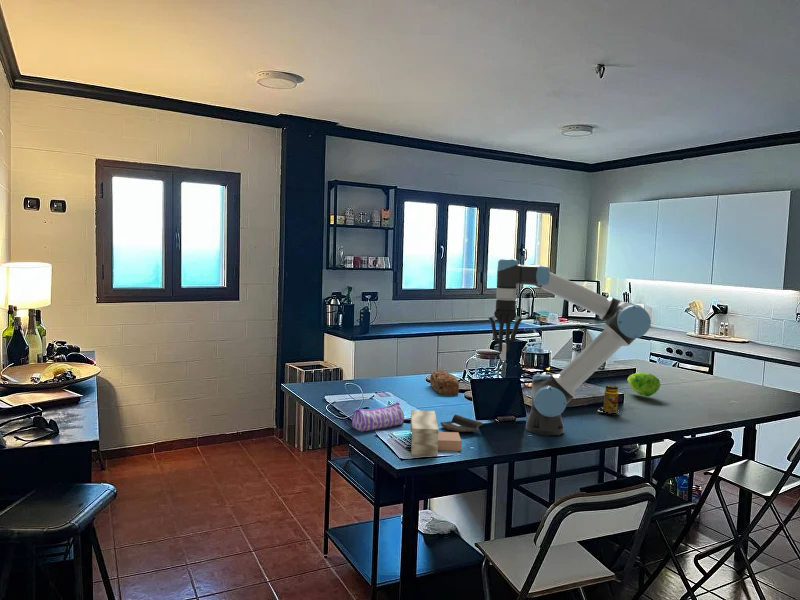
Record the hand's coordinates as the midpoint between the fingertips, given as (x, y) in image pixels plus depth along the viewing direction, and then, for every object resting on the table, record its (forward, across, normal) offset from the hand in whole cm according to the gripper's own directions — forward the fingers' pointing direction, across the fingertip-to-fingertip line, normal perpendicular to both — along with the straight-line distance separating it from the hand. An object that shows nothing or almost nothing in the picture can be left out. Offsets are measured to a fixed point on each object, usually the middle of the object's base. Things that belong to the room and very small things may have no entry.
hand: (503, 360), depth 231 cm
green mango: (+30, -87, -80) cm, 122 cm away
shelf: (+29, +32, +16) cm, 46 cm away
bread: (+30, +17, -68) cm, 77 cm away
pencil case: (+30, +48, -2) cm, 56 cm away
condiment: (+30, -57, -42) cm, 77 cm away
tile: (+30, +24, +16) cm, 42 cm away
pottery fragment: (+31, +17, -2) cm, 35 cm away
